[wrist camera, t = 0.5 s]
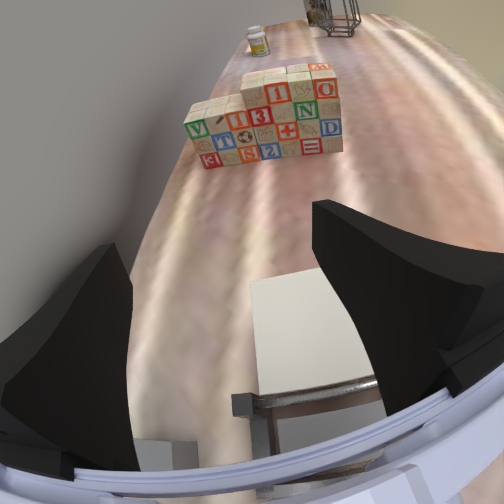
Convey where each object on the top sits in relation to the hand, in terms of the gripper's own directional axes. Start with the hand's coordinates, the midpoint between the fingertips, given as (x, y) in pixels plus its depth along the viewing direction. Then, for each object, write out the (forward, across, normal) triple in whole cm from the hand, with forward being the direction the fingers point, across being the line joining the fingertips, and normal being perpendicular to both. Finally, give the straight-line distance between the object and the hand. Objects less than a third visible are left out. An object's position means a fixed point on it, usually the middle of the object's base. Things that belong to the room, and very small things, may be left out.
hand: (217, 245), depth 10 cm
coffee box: (+107, -54, -24) cm, 122 cm away
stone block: (-1, +9, +22) cm, 24 cm away
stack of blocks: (+35, -11, +8) cm, 37 cm away
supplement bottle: (+84, -23, -10) cm, 87 cm away
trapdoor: (+2, -8, +15) cm, 17 cm away
